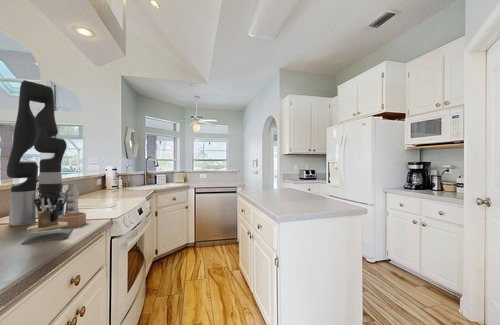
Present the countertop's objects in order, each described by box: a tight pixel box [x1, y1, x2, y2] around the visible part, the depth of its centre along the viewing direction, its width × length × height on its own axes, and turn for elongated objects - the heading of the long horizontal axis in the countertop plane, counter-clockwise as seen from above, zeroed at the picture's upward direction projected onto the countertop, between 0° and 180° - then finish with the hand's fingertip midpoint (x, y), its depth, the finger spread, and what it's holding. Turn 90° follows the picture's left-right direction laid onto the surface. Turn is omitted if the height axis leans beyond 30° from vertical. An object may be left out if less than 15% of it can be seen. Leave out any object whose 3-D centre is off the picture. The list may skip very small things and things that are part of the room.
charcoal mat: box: [21, 228, 74, 245], centre depth 95 cm, size 14×14×1 cm
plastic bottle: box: [64, 183, 80, 214], centre depth 126 cm, size 6×7×20 cm
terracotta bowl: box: [58, 211, 87, 229], centre depth 114 cm, size 11×11×5 cm
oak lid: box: [26, 211, 68, 233], centre depth 95 cm, size 13×13×7 cm
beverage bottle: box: [46, 183, 65, 220], centre depth 125 cm, size 8×8×20 cm
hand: (50, 221), depth 95 cm, fingers closed on oak lid, 3 cm apart
